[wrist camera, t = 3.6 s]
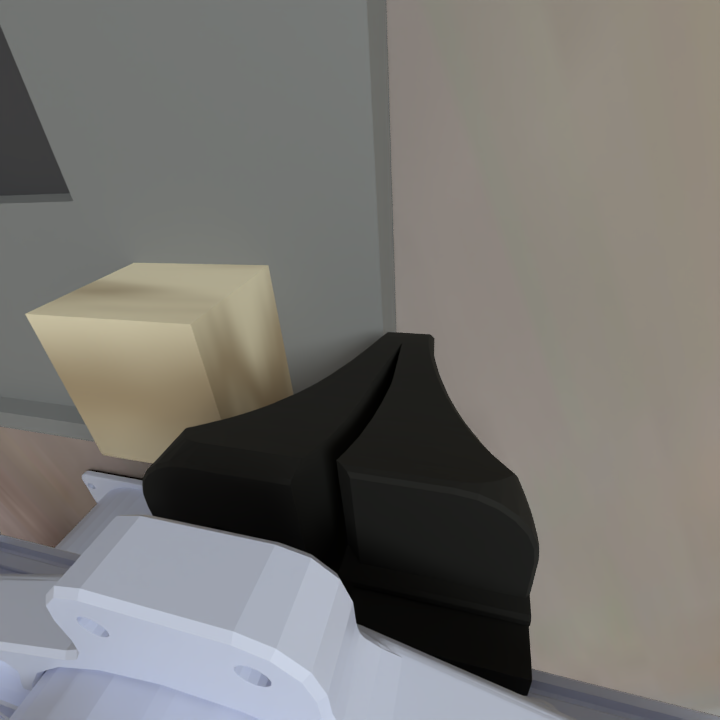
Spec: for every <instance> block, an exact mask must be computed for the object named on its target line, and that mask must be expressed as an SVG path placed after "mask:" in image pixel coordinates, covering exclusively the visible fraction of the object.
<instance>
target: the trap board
mask: <svg viewBox="0 0 720 720" xmlns="http://www.w3.org/2000/svg"><path fill="white" fill-rule="evenodd" d="M132 263H177V264H229V265H268V266H269V271H270V277H271V282H272V287H273V292H274V297H275V302H276V307H277V312H278V317H279V323H280V328H281V333H282V338H283V343H284V348H285V353H286V358H287V364H288V369H289V374H290V379H291V384H292V389H293V394H296V393H298V392H300V391H302V390H304V389H306V388H308V387H310V386H312V385H314V384H316V383H318V382H319V381H321V380H323V379H324V378H326V377H328V376H329V375H331V374H332V373H334V372H335V371H337V370H338V369H340V368H341V367H343V366H344V365H346V364H347V363H349V362H350V361H352V360H353V359H354V358H355V357H357V356H358V355H359V354H361V353H362V352H363V351H365V350H366V349H367V348H368V347H370V346H371V345H372V344H373V343H375V342H376V341H377V340H378V339H380V338H381V337H382V336H383V335H385V334H386V333H387V332H396V307H395V275H394V242H393V210H392V177H391V145H390V112H389V80H388V47H387V15H386V0H0V426H1V427H7V428H13V429H19V430H26V431H32V432H38V433H44V434H50V435H57V436H63V437H69V438H75V439H81V440H88V441H94V439H93V437H92V435H91V433H90V431H89V430H88V428H87V426H86V424H85V422H84V421H83V419H82V417H81V415H80V413H79V411H78V410H77V408H76V406H75V404H74V402H73V400H72V399H71V397H70V395H69V393H68V391H67V390H66V388H65V386H64V384H63V382H62V380H61V379H60V377H59V375H58V373H57V371H56V369H55V368H54V366H53V364H52V362H51V360H50V358H49V357H48V355H47V353H46V351H45V349H44V348H43V346H42V344H41V342H40V340H39V338H38V337H37V335H36V333H35V331H34V329H33V327H32V326H31V324H30V322H29V320H28V318H27V317H26V315H25V314H26V313H28V312H30V311H32V310H34V309H37V308H39V307H41V306H43V305H45V304H47V303H49V302H51V301H54V300H56V299H58V298H60V297H62V296H64V295H66V294H68V293H71V292H73V291H75V290H77V289H79V288H81V287H83V286H86V285H88V284H90V283H92V282H94V281H96V280H98V279H100V278H103V277H105V276H107V275H109V274H111V273H113V272H115V271H117V270H120V269H122V268H124V267H126V266H128V265H130V264H132ZM94 442H95V441H94Z"/></svg>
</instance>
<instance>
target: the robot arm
mask: <svg viewBox="0 0 720 720" xmlns="http://www.w3.org/2000/svg"><path fill="white" fill-rule="evenodd" d="M82 479H83V481H84V483H85V484H86V486H87V488H88V489H89V491H90V493H91V494H92V496H93V498H94V499H95V501H96V503H97V504H96V505H95V506H94V507H93V508H92V510H91V511H90V512H89V513H88V514H87V515H86V516H85V517H84V518H83V519H82V520H81V521H80V522H79V523H78V524H77V525H76V526H75V527H74V528H73V529H72V530H71V531H70V532H69V533H68V534H67V535H66V536H65V537H64V538H63V540H62V541H61V542H60V543H59V544H58V545H57V546H56V547H55V548H53V547H49V546H45V545H41V544H37V543H33V542H29V541H25V540H21V539H17V538H13V537H9V536H5V535H1V534H0V720H720V716H716V715H712V714H708V713H705V712H701V711H697V710H693V709H689V708H685V707H681V706H677V705H673V704H669V703H665V702H661V701H657V700H653V699H649V698H645V697H641V696H637V695H633V694H629V693H626V692H622V691H618V690H614V689H610V688H606V687H602V686H598V685H594V684H590V683H586V682H582V681H578V680H574V679H570V678H566V677H562V676H558V675H554V674H550V673H546V672H543V671H539V670H535V669H531V654H530V639H529V626H530V623H531V609H530V591H531V587H532V584H533V580H534V576H535V572H536V568H537V564H538V560H539V543H538V537H537V532H536V528H535V524H534V520H533V517H532V514H531V510H530V508H529V505H528V502H527V499H526V496H525V494H524V491H523V489H522V487H521V484H520V482H519V479H518V477H517V476H516V475H515V474H514V473H513V472H512V471H511V470H509V469H508V468H507V467H506V466H505V465H504V464H502V463H501V462H500V461H499V460H498V459H497V458H495V457H494V456H493V455H492V454H491V453H490V452H489V451H488V450H487V449H486V448H485V447H484V446H483V444H482V443H481V442H480V441H479V440H478V439H477V437H476V436H475V435H474V434H473V432H472V431H471V430H470V429H469V427H468V426H467V425H466V424H465V422H464V421H463V419H462V418H461V416H460V415H459V413H458V412H457V410H456V408H455V407H454V405H453V403H452V401H451V400H450V398H449V396H448V394H447V392H446V389H445V387H444V385H443V383H442V380H441V378H440V375H439V372H438V369H437V365H436V362H435V358H434V338H433V337H432V336H431V335H429V334H412V333H396V332H387V333H386V334H385V335H383V336H382V337H381V338H380V339H378V340H377V341H376V342H375V343H373V344H372V345H371V346H370V347H368V348H367V349H366V350H365V351H363V352H362V353H361V354H359V355H358V356H357V357H355V358H354V359H353V360H352V361H350V362H349V363H347V364H346V365H344V366H343V367H341V368H340V369H338V370H337V371H335V372H334V373H332V374H331V375H329V376H328V377H326V378H324V379H323V380H321V381H319V382H318V383H316V384H314V385H312V386H310V387H308V388H306V389H304V390H302V391H300V392H298V393H296V394H294V395H291V396H289V397H287V398H284V399H282V400H280V401H277V402H275V403H273V404H270V405H268V406H265V407H262V408H259V409H256V410H253V411H250V412H247V413H244V414H241V415H237V416H234V417H230V418H227V419H223V420H219V421H214V422H210V423H206V424H202V425H198V426H193V427H188V428H185V429H184V431H183V432H182V433H181V434H180V435H179V436H178V437H177V438H176V439H175V440H174V441H173V442H172V443H171V445H170V446H169V447H168V448H167V449H166V450H165V451H164V452H163V453H162V454H161V455H160V457H159V458H158V459H157V460H156V461H155V462H154V463H153V464H152V465H151V466H150V467H149V468H148V470H147V471H146V473H145V475H144V477H143V479H142V480H138V479H132V478H127V477H121V476H116V475H111V474H105V473H100V472H94V471H86V472H85V473H84V474H83V475H82Z"/></svg>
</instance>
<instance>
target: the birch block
mask: <svg viewBox="0 0 720 720" xmlns="http://www.w3.org/2000/svg"><path fill="white" fill-rule="evenodd" d="M25 315H26V317H27V318H28V320H29V322H30V324H31V326H32V327H33V329H34V331H35V333H36V335H37V337H38V338H39V340H40V342H41V344H42V346H43V348H44V349H45V351H46V353H47V355H48V357H49V358H50V360H51V362H52V364H53V366H54V368H55V369H56V371H57V373H58V375H59V377H60V379H61V380H62V382H63V384H64V386H65V388H66V390H67V391H68V393H69V395H70V397H71V399H72V400H73V402H74V404H75V406H76V408H77V410H78V411H79V413H80V415H81V417H82V419H83V421H84V422H85V424H86V426H87V428H88V430H89V431H90V433H91V435H92V437H93V439H94V441H95V442H96V444H97V446H98V448H99V450H100V452H101V453H102V455H106V456H112V457H118V458H124V459H129V460H135V461H141V462H147V463H154V462H155V461H156V460H157V459H158V458H159V457H160V455H161V454H162V453H163V452H164V451H165V450H166V449H167V448H168V447H169V446H170V445H171V443H172V442H173V441H174V440H175V439H176V438H177V437H178V436H179V435H180V434H181V433H182V432H183V431H184V429H185V428H188V427H193V426H198V425H202V424H206V423H210V422H214V421H219V420H223V419H227V418H230V417H234V416H237V415H241V414H244V413H247V412H250V411H253V410H256V409H259V408H262V407H265V406H268V405H270V404H273V403H275V402H277V401H280V400H282V399H284V398H287V397H289V396H291V395H294V394H293V389H292V384H291V379H290V374H289V369H288V364H287V358H286V353H285V348H284V343H283V338H282V333H281V328H280V323H279V317H278V312H277V307H276V302H275V297H274V292H273V287H272V282H271V277H270V271H269V266H268V265H229V264H177V263H132V264H130V265H128V266H126V267H124V268H122V269H120V270H117V271H115V272H113V273H111V274H109V275H107V276H105V277H103V278H100V279H98V280H96V281H94V282H92V283H90V284H88V285H86V286H83V287H81V288H79V289H77V290H75V291H73V292H71V293H68V294H66V295H64V296H62V297H60V298H58V299H56V300H54V301H51V302H49V303H47V304H45V305H43V306H41V307H39V308H37V309H34V310H32V311H30V312H28V313H26V314H25Z"/></svg>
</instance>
